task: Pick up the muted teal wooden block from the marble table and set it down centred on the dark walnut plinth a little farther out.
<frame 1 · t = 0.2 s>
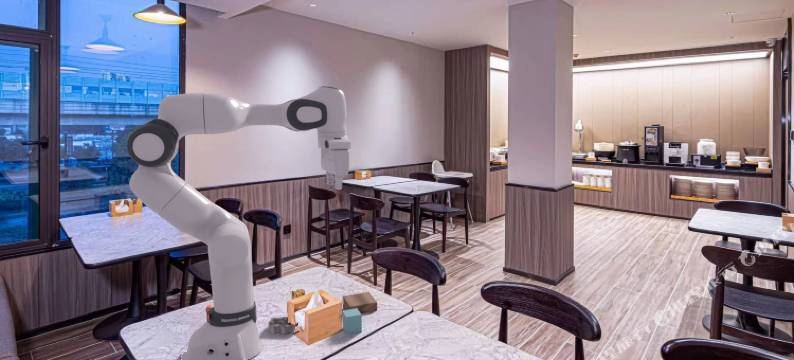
hand: (334, 187, 134), 47 cm above the table, tool pointing down, fingers open, 8 cm apart
egg carton: (286, 330, 143), on the table
teal block: (352, 330, 142), on the table
walnut plinth: (359, 306, 159), on the table
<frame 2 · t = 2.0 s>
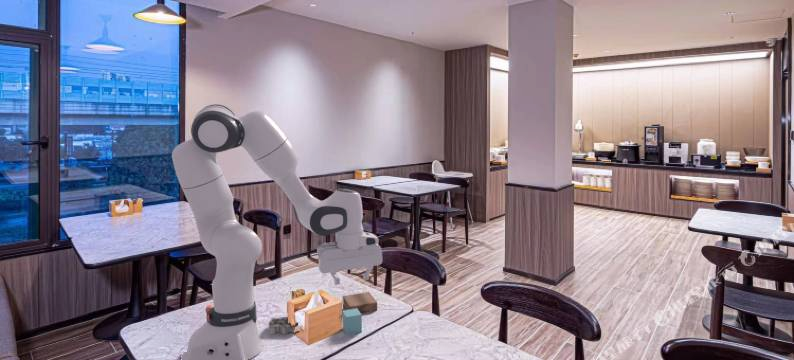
hand: (351, 281, 140), 16 cm above the table, tool pointing down, fingers open, 8 cm apart
nothing on the table moved.
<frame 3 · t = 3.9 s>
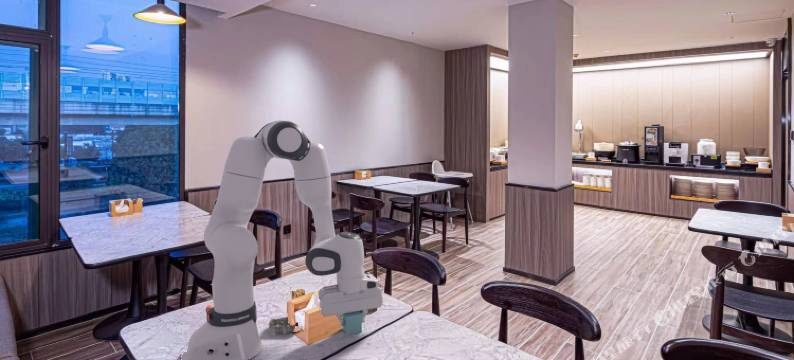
hand: (352, 323, 142), 2 cm above the table, tool pointing down, fingers closed on teal block, 5 cm apart
teal block: (352, 330, 142), on the table, touching gripper
everything else where it was.
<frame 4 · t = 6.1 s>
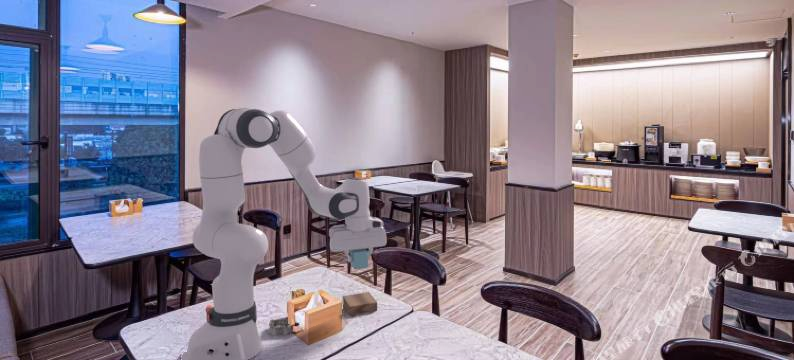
hand: (359, 260, 156), 18 cm above the table, tool pointing down, fingers closed on teal block, 5 cm apart
teal block: (359, 266, 157), point 15 cm above the table, touching gripper
everything else where it was.
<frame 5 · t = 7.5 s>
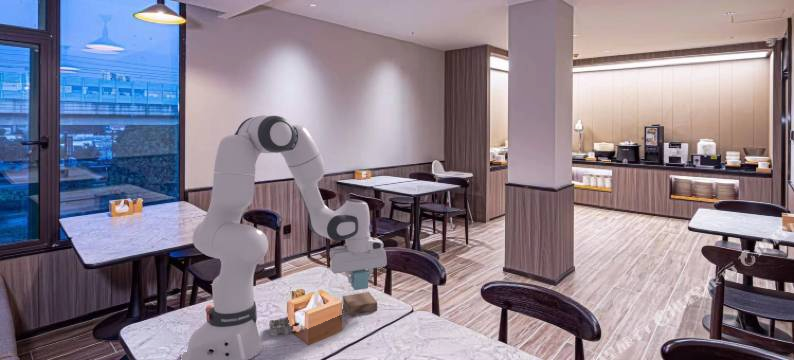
hand: (359, 281, 158), 10 cm above the table, tool pointing down, fingers closed on teal block, 5 cm apart
teal block: (359, 286, 158), point 8 cm above the table, touching gripper
everything else where it was.
when the fingers open (7 cm above the table, at t = 8.5 s): teal block drops 1 cm, resting on walnut plinth.
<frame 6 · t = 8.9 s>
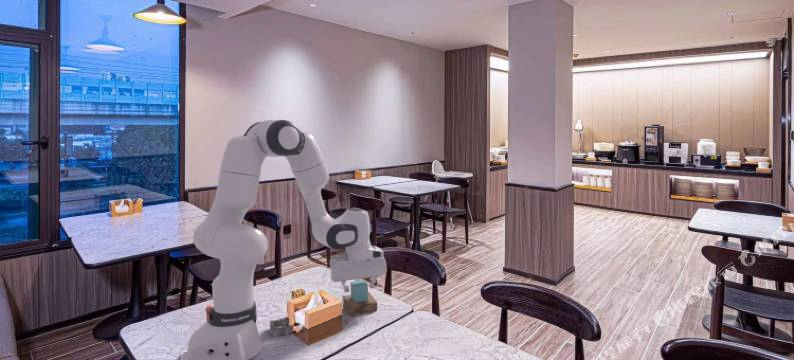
hand: (359, 289, 158), 7 cm above the table, tool pointing down, fingers open, 8 cm apart
teal block: (359, 299, 159), point 3 cm above the table, touching walnut plinth
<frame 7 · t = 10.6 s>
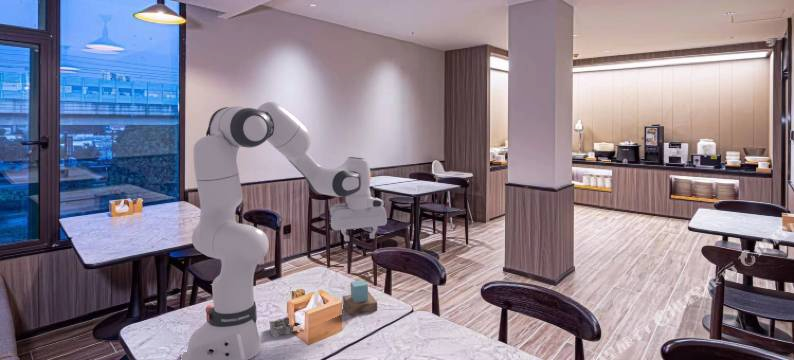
hand: (359, 239, 159), 24 cm above the table, tool pointing down, fingers open, 8 cm apart
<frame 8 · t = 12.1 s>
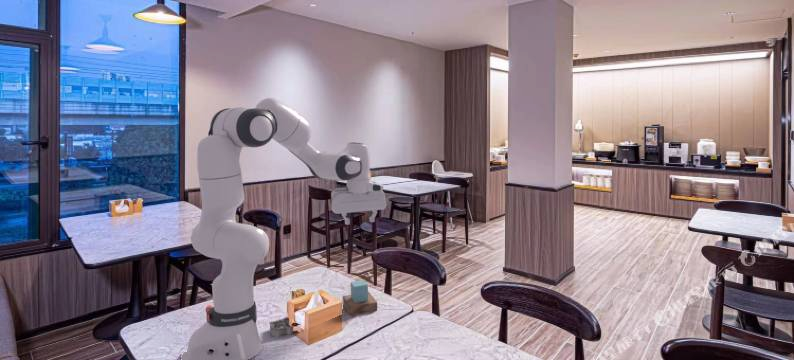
hand: (359, 223, 163), 29 cm above the table, tool pointing down, fingers open, 8 cm apart
at the end: teal block inside the target area on the walnut plinth (0.1 cm from its centre), point 3.0 cm above the walnut plinth's base; teal block tilted 0°; the gripper is holding nothing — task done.
